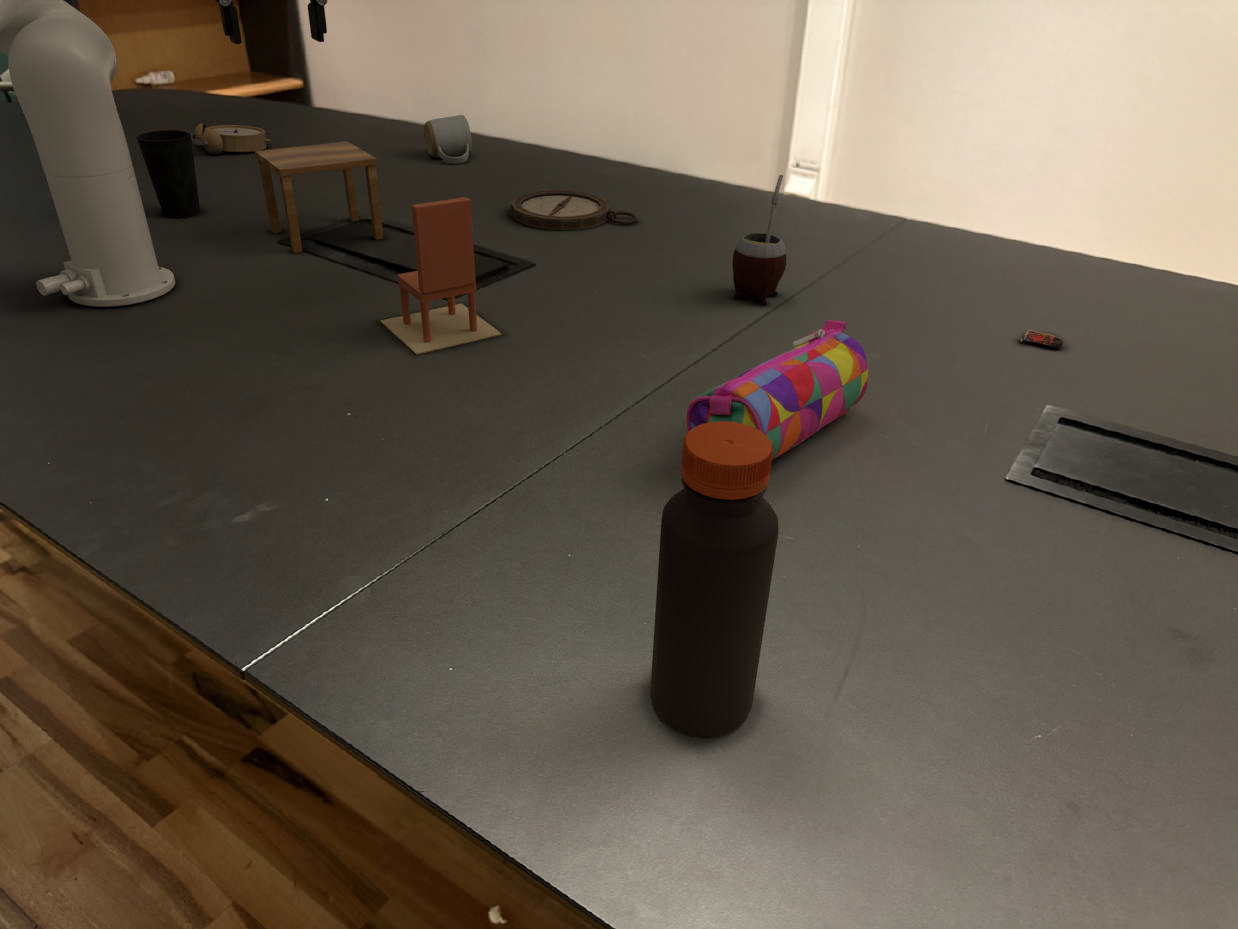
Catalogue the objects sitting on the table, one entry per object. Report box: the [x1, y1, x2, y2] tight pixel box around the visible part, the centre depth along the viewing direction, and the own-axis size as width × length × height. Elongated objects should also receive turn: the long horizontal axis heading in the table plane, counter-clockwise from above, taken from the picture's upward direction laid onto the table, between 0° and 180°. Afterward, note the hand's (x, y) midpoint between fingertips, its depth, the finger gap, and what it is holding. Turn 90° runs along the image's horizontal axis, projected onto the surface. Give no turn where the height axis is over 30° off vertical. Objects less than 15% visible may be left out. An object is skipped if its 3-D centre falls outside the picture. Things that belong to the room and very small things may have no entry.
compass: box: [510, 189, 638, 231], centre depth 149 cm, size 20×16×2 cm
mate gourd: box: [731, 174, 787, 306], centre depth 118 cm, size 8×8×15 cm
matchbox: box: [1019, 329, 1065, 349], centre depth 111 cm, size 5×5×1 cm
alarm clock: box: [190, 123, 272, 155], centre depth 180 cm, size 11×5×15 cm
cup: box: [136, 129, 201, 219], centre depth 142 cm, size 8×8×12 cm
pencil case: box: [685, 319, 869, 461], centre depth 87 cm, size 22×9×9 cm, turn 141°
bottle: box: [649, 421, 779, 739], centre depth 54 cm, size 7×7×20 cm
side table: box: [254, 141, 384, 254], centre depth 135 cm, size 12×14×12 cm
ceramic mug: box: [423, 114, 473, 165], centre depth 178 cm, size 11×8×8 cm
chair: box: [396, 196, 477, 342], centre depth 105 cm, size 7×7×16 cm
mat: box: [379, 303, 502, 356], centre depth 110 cm, size 11×11×1 cm
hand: (277, 41), depth 108 cm, fingers open, 9 cm apart
